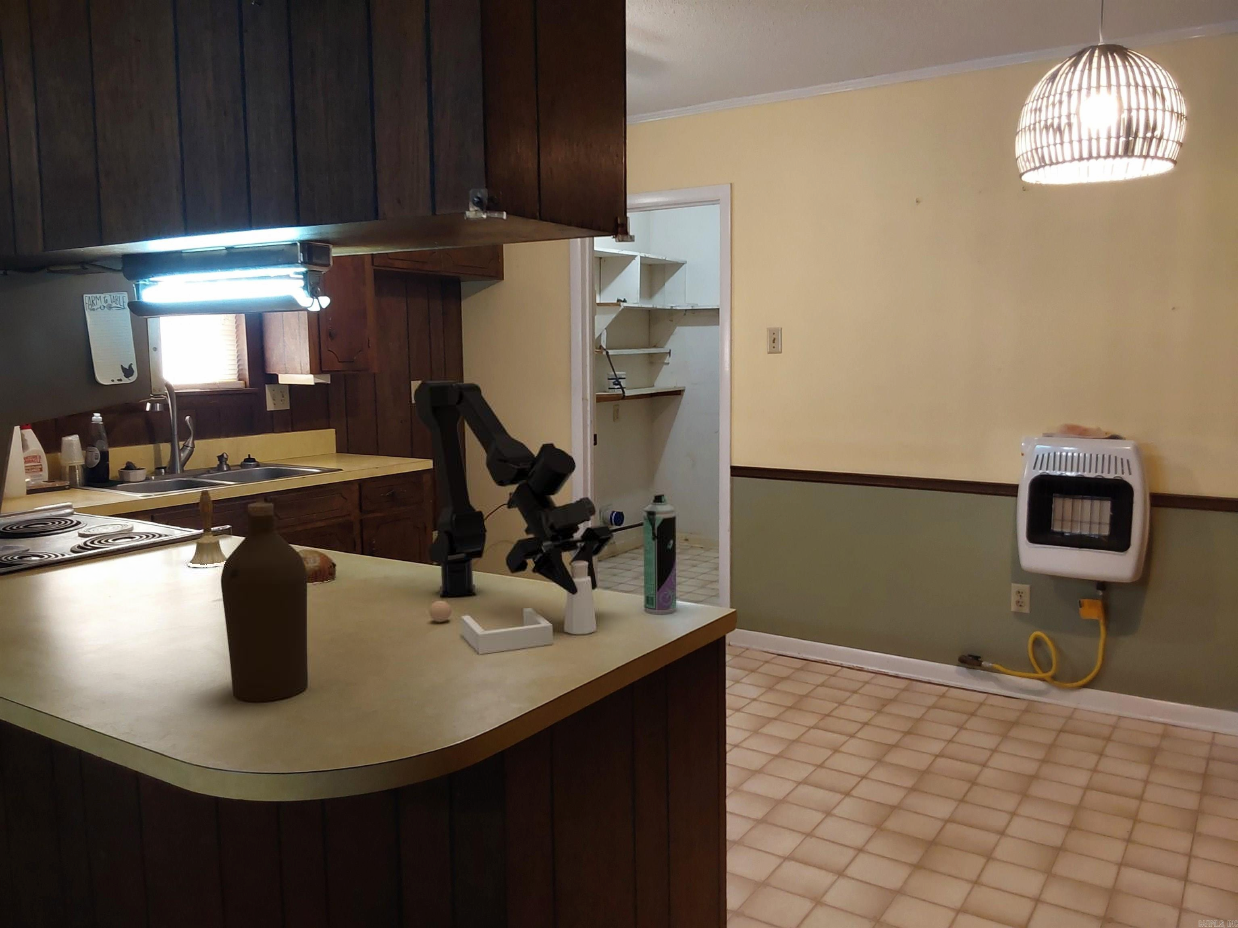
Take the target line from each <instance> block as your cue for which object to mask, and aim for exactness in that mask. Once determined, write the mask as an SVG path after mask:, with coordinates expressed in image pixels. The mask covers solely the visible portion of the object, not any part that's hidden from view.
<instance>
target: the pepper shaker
mask: <svg viewBox="0 0 1238 928" xmlns="http://www.w3.org/2000/svg"><path fill="white" fill-rule="evenodd" d="M570 562H571V561H570ZM570 565H571V566H570ZM570 565H569V566H570V572H571V574H570V575H571V577H572V579H573V581H574V583H575V585H576V587H577V590H578V592H577V593H576V594H575V595H573V594H571V593H569V592H568V591H566V604H565V613H564V615H565V616H564V624H563V625H564V628H563V631H564V632H565V633H567V634H570V635H588V634H591V633H595V632H596V631H597V624H596V623H597V622H596V613H595V605H594V604H595V603H594V593H593V590H592V584H591V577H590V576H587V575H588V574H587V572H588V568H587V567H588V562H586V561H573V562H571V564H570Z"/></svg>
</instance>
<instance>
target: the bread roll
mask: <svg viewBox="0 0 1238 928" xmlns="http://www.w3.org/2000/svg"><path fill="white" fill-rule="evenodd" d="M297 552H298V553H299V554H300V556H301V557H302V559H303V562H304V564H305V567H306V571H307V583H314V582H324V581H328V580H331V579H333V578H334V579H335V577H336V574H337V573H336V572H337V569H336V567H337V564H336V563H335V561H334V560H333V559H332V558H331V557H330V556H328V555H327V554H326V553H324V552H322V551H318V550H316V549H301V550H298V551H297ZM334 579H333V580H334ZM331 581H332V580H331ZM328 582H329V581H328Z"/></svg>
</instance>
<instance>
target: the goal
mask: <svg viewBox="0 0 1238 928" xmlns="http://www.w3.org/2000/svg"><path fill="white" fill-rule="evenodd" d="M522 609H523V610H522V611H523V613H522V614H523V626H517V627H516V626H515V627H510V628H509V627H508V628H501V629H491V630H484V629H483V628H482V627H481V626H480V625H479V624H478V623H477V622H476V621H475V620H474V619H473V618H472V617H471V616H470V615H461V616H460V619H461V621H460V622H461V636H462V637H463V638H464V639H465V640H466V641H467V642H468V643H469V645H470V646H471V647H472V648H473V649H474V650H475V651H476V652H477V653H478V654H479V655H484V654H490V653H491V654H492V653H497V652H498V653H499V652H506V651H515V650H521V649H527V648H528V649H529V648H534V647H535V648H536V647H542V646H549V645H553V644H554V640H553V639H554V638H553V637H554V636H553V635H554V634H553V633H554V632H553V624H552V623H551V622H549V621H548V620H547V619H545V618H544V617H542V616H541V615H540V614H539V613H538V612H537V611H535V610H534V609H532V608H531V607H529V608H528V607H527V608H525V607H524V608H522Z"/></svg>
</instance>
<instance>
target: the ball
mask: <svg viewBox="0 0 1238 928" xmlns="http://www.w3.org/2000/svg"><path fill="white" fill-rule="evenodd" d="M451 614H452V608H451V605H449V603H448V602H446V601H444V600H437V601H435V602H433V603H432V604H431V606H430V608H429V615H430V617H431V619H432V620H433V621H435V622H436V623H444V622H446V621H447V620H448V619H449V618H450V616H451Z"/></svg>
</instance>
